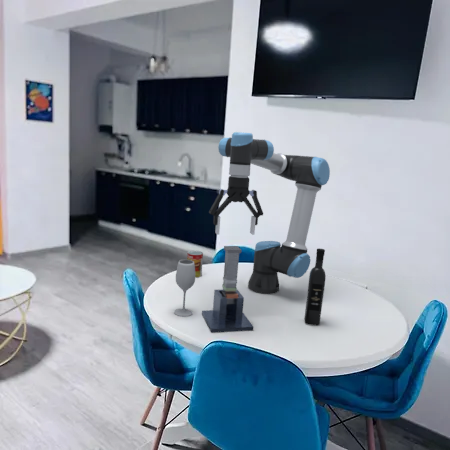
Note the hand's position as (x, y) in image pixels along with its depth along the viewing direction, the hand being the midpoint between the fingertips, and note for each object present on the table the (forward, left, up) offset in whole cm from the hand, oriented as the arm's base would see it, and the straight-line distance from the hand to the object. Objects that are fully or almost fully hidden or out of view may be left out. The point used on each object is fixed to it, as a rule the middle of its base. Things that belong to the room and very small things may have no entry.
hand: (234, 233), depth 149 cm
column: (+1, +2, -26) cm, 26 cm away
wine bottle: (-33, +6, -35) cm, 48 cm away
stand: (+1, +2, -34) cm, 34 cm away
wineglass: (+16, -8, -35) cm, 39 cm away
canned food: (+3, -53, -35) cm, 63 cm away
